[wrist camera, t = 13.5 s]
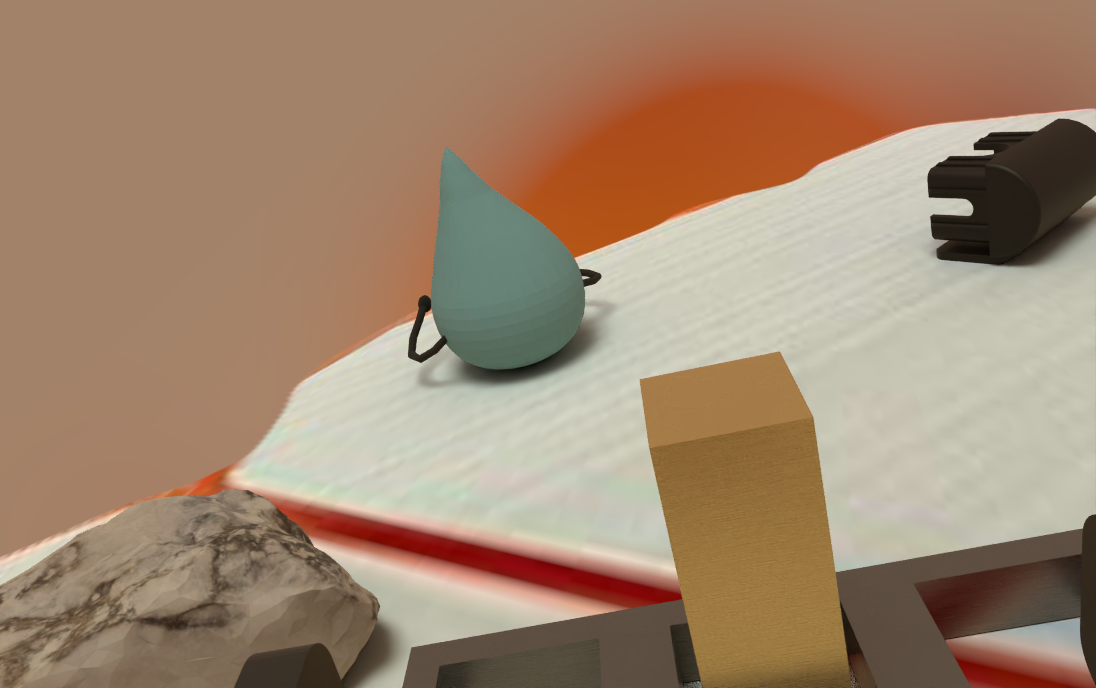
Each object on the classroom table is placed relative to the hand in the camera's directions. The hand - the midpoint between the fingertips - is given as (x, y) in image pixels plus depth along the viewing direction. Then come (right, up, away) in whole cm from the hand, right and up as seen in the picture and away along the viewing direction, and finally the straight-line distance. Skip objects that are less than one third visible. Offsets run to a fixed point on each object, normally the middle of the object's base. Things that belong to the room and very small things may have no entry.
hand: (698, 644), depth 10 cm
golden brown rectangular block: (+6, -9, +19) cm, 21 cm away
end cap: (+30, +10, +50) cm, 59 cm away
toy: (-3, +2, +53) cm, 53 cm away
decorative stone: (-18, -12, +27) cm, 35 cm away
